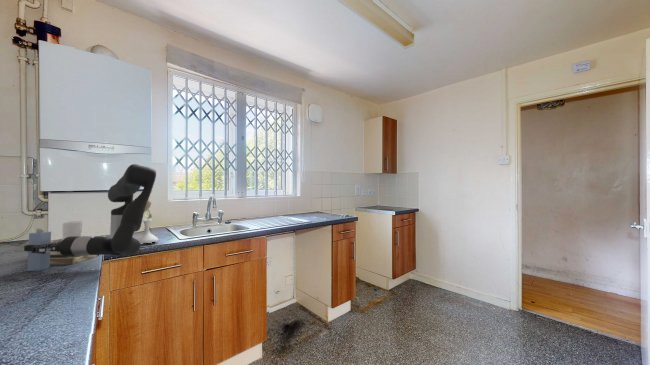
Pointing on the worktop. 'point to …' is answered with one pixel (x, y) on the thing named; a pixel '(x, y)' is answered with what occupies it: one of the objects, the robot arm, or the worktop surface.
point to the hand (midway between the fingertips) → (31, 246)
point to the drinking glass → (72, 228)
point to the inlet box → (66, 257)
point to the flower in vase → (147, 228)
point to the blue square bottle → (36, 259)
